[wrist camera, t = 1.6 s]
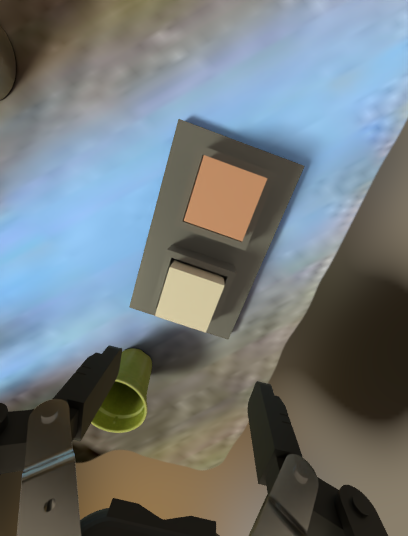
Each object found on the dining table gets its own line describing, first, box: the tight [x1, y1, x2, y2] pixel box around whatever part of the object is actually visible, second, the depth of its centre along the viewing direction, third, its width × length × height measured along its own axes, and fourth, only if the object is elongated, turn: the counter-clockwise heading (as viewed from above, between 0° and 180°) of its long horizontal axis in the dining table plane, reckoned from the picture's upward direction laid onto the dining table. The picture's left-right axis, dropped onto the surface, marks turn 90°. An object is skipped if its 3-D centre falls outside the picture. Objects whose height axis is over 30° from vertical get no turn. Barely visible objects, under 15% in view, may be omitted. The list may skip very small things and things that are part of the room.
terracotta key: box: [184, 155, 267, 241], centre depth 23 cm, size 7×7×3 cm
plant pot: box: [91, 348, 152, 433], centre depth 33 cm, size 9×9×9 cm
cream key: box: [155, 260, 225, 332], centre depth 27 cm, size 7×7×3 cm
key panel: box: [130, 119, 304, 339], centre depth 28 cm, size 16×26×5 cm, turn 161°
